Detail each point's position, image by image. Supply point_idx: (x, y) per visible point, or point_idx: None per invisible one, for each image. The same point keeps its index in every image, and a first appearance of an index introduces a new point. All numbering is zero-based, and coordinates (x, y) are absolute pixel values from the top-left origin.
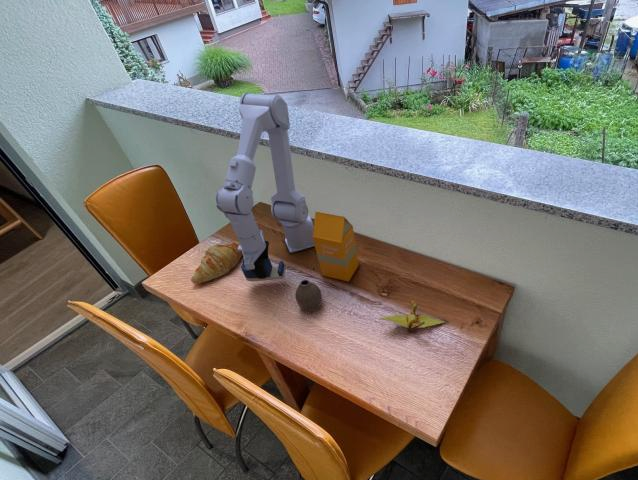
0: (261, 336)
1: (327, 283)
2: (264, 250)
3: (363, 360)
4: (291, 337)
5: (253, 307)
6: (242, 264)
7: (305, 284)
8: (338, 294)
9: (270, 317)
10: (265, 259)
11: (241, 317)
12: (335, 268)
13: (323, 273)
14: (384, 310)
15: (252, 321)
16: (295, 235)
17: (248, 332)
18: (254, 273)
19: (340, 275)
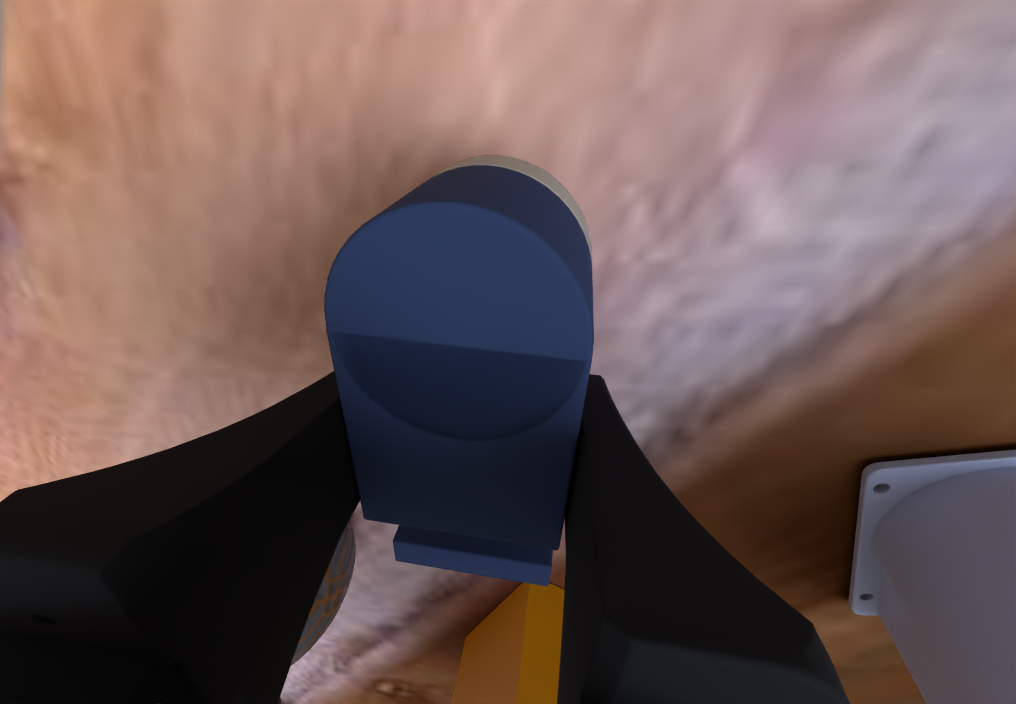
0: (35, 281)
1: (464, 580)
2: (560, 688)
3: None
4: (95, 422)
5: (249, 203)
6: (491, 227)
7: (314, 611)
8: (386, 597)
9: (187, 326)
10: (550, 518)
11: (128, 110)
12: (474, 697)
13: (522, 598)
14: (309, 670)
15: (120, 211)
16: (971, 677)
17: (25, 193)
18: (302, 397)
19: (474, 654)
